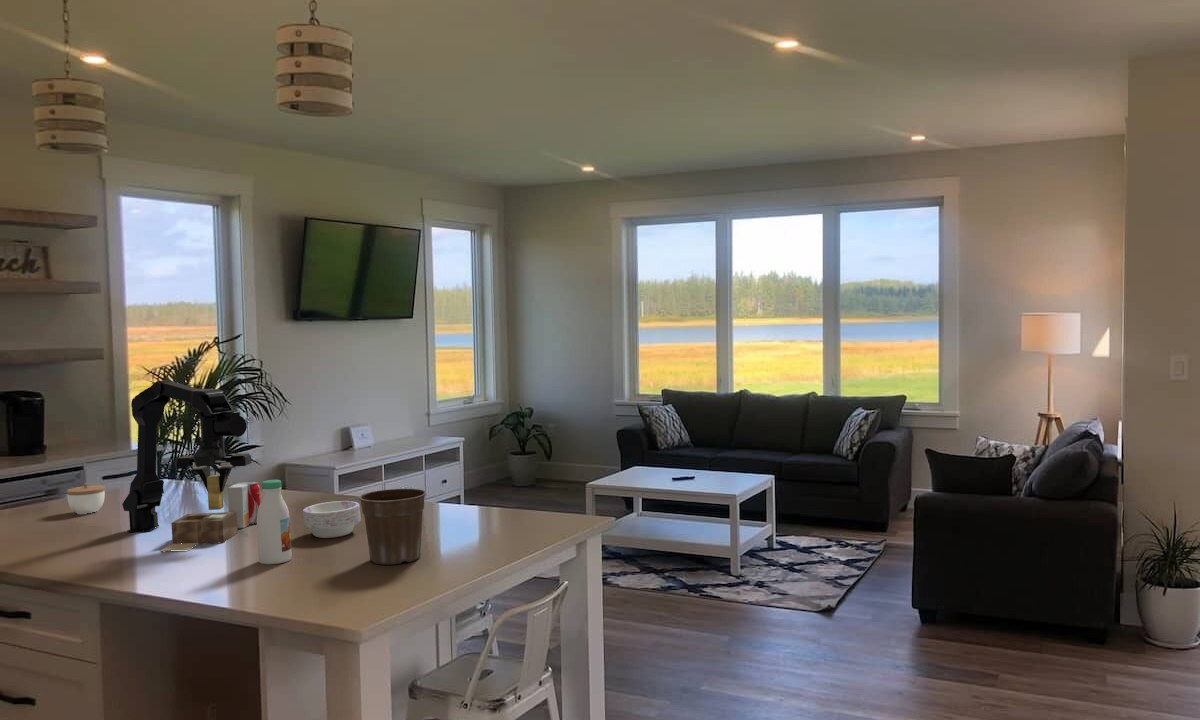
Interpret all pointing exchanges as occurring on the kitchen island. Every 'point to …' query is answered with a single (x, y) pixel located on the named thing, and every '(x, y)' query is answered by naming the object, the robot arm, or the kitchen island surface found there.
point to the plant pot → (393, 524)
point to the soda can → (253, 499)
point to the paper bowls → (331, 518)
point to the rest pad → (180, 546)
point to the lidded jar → (86, 498)
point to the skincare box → (239, 503)
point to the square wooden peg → (214, 493)
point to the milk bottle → (273, 525)
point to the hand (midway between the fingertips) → (215, 492)
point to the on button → (217, 516)
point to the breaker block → (204, 528)
